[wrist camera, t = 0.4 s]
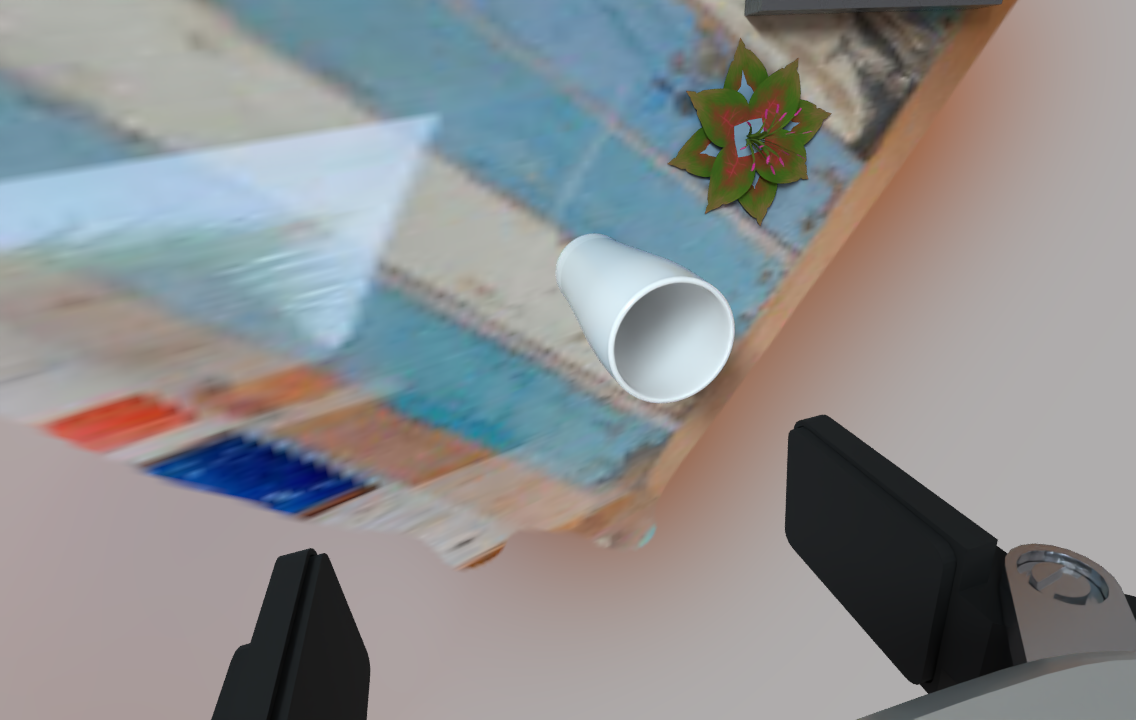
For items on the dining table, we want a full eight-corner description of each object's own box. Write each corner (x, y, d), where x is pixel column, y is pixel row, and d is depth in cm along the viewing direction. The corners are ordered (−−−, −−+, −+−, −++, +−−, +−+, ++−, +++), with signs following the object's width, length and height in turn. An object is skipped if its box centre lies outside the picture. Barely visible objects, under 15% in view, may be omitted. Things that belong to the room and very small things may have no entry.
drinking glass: (567, 205, 39) (647, 253, 26) (649, 243, 42) (761, 304, 28) (528, 295, 41) (584, 383, 27) (609, 326, 43) (696, 421, 30)
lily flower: (635, 171, 40) (660, 178, 36) (731, 2, 37) (771, -12, 33) (757, 251, 44) (792, 265, 40) (851, 105, 42) (899, 104, 38)
